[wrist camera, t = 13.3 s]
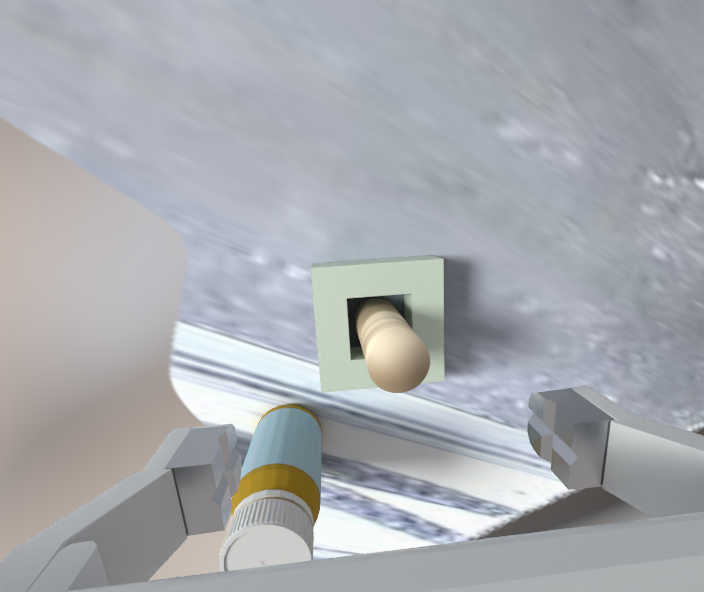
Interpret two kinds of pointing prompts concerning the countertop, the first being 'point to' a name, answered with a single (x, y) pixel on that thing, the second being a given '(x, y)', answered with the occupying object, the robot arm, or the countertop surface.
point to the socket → (366, 281)
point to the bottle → (276, 493)
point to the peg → (390, 346)
